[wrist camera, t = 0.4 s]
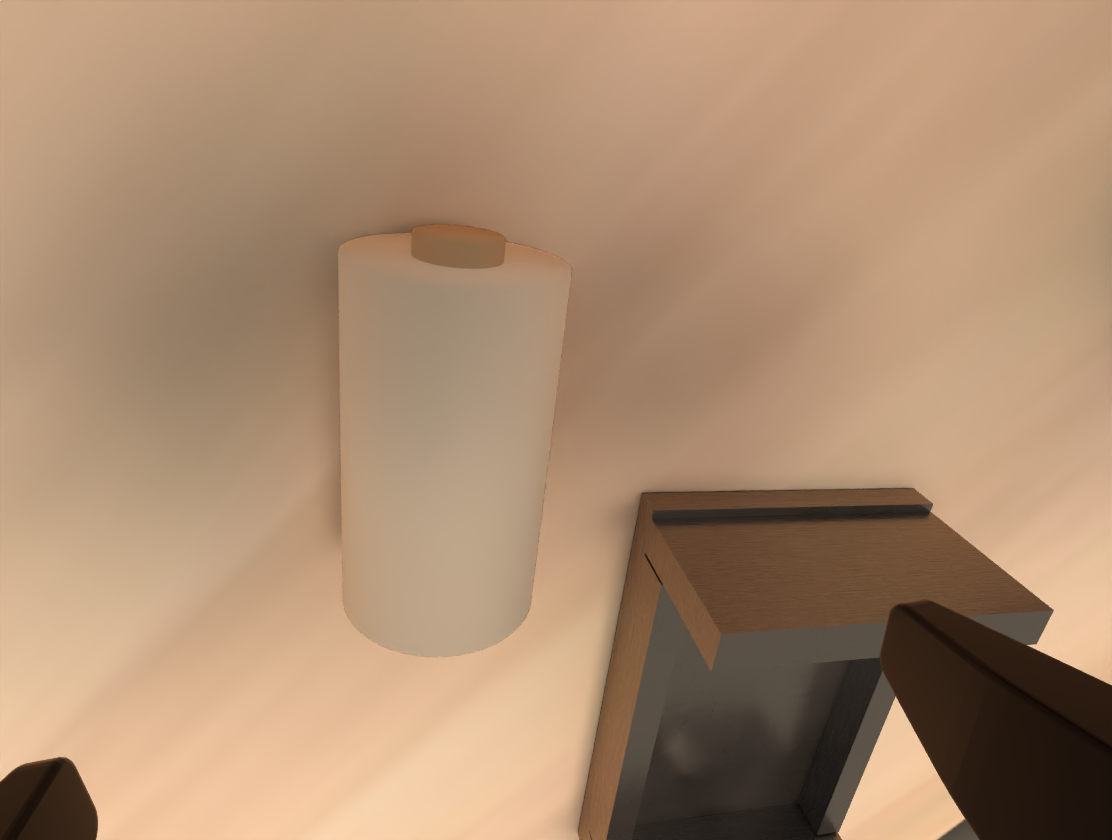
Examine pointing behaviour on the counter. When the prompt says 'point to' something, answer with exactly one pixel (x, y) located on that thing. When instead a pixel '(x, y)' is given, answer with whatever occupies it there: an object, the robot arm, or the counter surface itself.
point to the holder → (768, 656)
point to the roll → (445, 432)
